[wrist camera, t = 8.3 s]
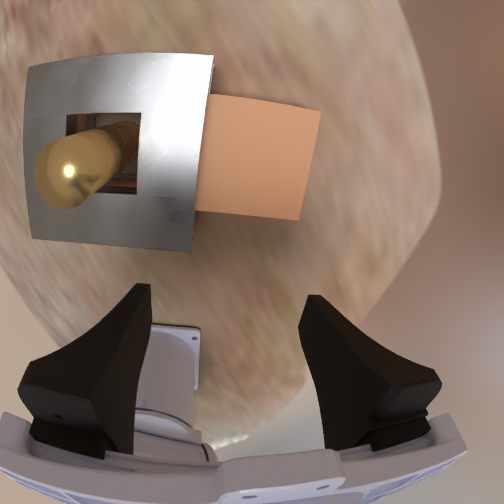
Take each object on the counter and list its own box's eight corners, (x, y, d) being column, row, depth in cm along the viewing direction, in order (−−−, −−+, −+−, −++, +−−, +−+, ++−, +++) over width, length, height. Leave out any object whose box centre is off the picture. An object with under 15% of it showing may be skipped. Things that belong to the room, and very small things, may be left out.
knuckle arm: (288, 205, 21) (298, 220, 19) (78, 189, 18) (61, 202, 16) (307, 110, 18) (321, 112, 15) (81, 94, 15) (61, 94, 13)
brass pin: (142, 165, 18) (92, 213, 11) (102, 162, 18) (35, 206, 10) (147, 123, 17) (95, 140, 9) (106, 120, 16) (34, 138, 9)
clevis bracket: (195, 222, 21) (191, 252, 17) (60, 213, 19) (32, 238, 15) (214, 66, 16) (213, 55, 12) (62, 70, 14) (28, 66, 10)
